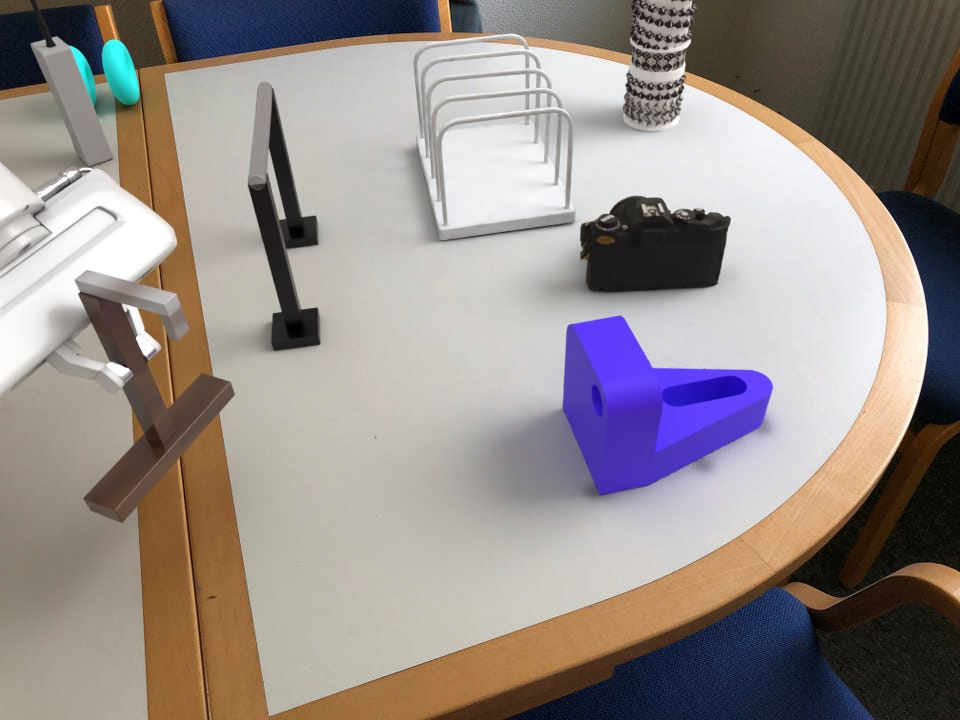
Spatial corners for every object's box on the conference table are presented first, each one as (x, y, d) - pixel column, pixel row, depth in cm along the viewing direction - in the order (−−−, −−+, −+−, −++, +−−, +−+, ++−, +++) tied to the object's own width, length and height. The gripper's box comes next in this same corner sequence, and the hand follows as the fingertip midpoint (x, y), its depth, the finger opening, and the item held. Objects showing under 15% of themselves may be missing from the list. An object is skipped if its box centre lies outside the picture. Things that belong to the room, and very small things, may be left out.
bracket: (599, 495, 69) (609, 401, 61) (562, 407, 77) (567, 314, 69) (789, 455, 72) (823, 359, 64) (735, 374, 79) (758, 280, 71)
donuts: (81, 97, 133) (57, 37, 126) (142, 88, 135) (122, 29, 128) (75, 123, 126) (49, 61, 119) (140, 113, 128) (119, 52, 121)
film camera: (681, 224, 99) (692, 151, 92) (737, 279, 91) (754, 204, 84) (550, 256, 95) (552, 183, 88) (596, 318, 86) (602, 242, 80)
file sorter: (416, 146, 116) (405, 39, 106) (532, 132, 118) (533, 26, 108) (440, 241, 98) (430, 124, 88) (576, 224, 100) (582, 106, 89)
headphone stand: (90, 511, 58) (-15, 339, 47) (206, 385, 68) (143, 216, 56) (177, 545, 56) (90, 372, 44) (285, 410, 65) (236, 238, 54)
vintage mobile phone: (101, 147, 120) (32, -29, 103) (114, 159, 117) (44, -20, 100) (77, 155, 118) (2, -22, 101) (89, 168, 115) (14, -13, 98)
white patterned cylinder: (683, 107, 122) (710, -71, 105) (679, 135, 116) (706, -50, 99) (624, 102, 124) (640, -73, 107) (617, 130, 118) (633, -53, 101)
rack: (273, 350, 85) (226, 187, 71) (278, 227, 102) (241, 77, 88) (320, 344, 85) (282, 181, 72) (317, 223, 102) (286, 73, 89)
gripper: (73, 177, 62) (209, 302, 66) (-171, 341, 48) (19, 487, 52) (98, 133, 57) (242, 270, 61) (-163, 299, 44) (43, 463, 47)
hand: (138, 371), depth 56 cm, fingers closed on headphone stand
